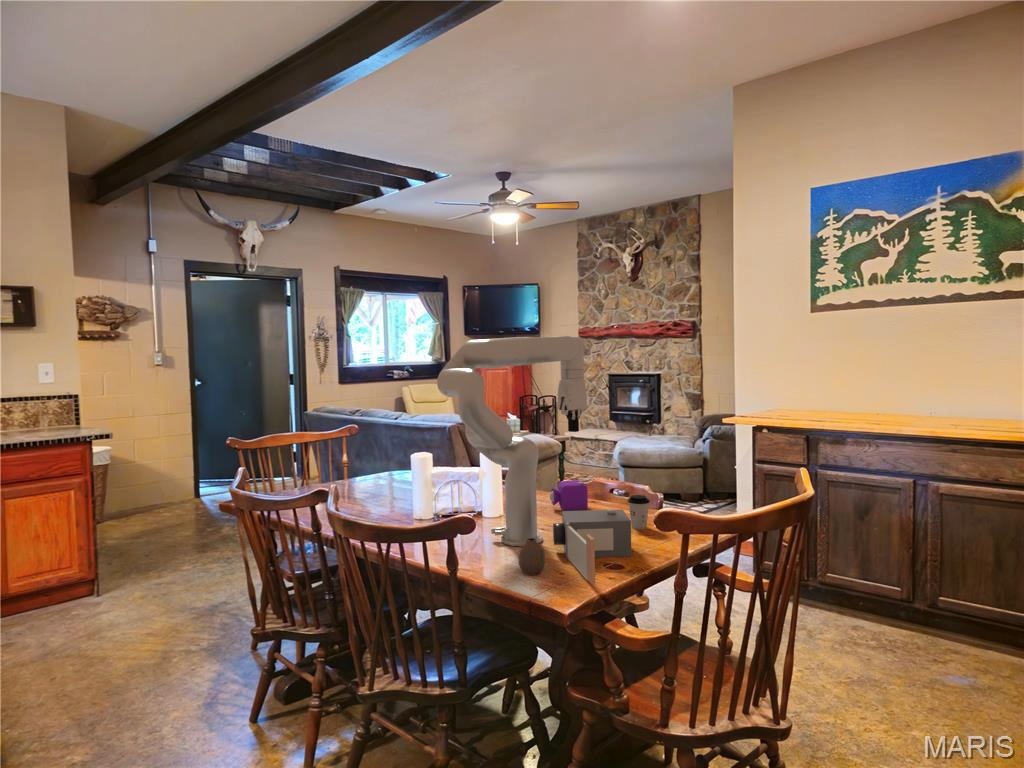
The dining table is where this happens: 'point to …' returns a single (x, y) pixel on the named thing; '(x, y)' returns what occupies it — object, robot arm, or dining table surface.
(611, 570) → the dining table surface
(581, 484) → the toy camera
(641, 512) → the coffee cup
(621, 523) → the camera housing
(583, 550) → the door
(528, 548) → the vase
